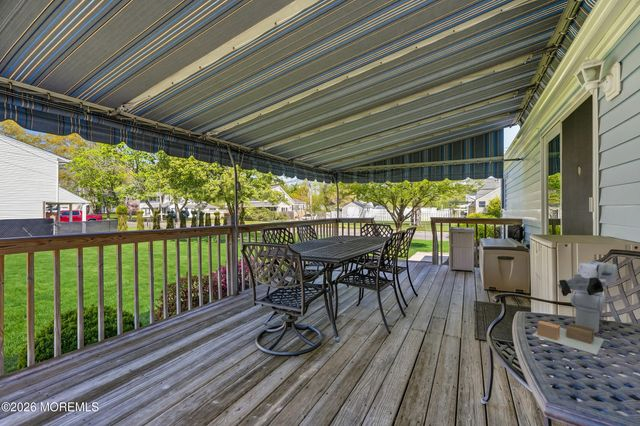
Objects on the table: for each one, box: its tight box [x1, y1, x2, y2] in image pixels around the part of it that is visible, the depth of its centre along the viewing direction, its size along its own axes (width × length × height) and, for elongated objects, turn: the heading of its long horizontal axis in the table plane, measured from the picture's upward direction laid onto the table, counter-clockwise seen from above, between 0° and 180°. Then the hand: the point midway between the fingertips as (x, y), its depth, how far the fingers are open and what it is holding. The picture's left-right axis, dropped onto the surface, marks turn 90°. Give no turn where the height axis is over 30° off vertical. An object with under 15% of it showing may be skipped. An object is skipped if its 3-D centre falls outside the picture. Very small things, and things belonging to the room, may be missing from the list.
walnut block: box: [565, 322, 595, 344], centre depth 109 cm, size 7×7×4 cm
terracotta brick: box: [536, 320, 561, 340], centre depth 110 cm, size 4×6×4 cm
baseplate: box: [531, 327, 605, 356], centre depth 110 cm, size 20×18×1 cm
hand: (575, 293), depth 106 cm, fingers open, 7 cm apart
